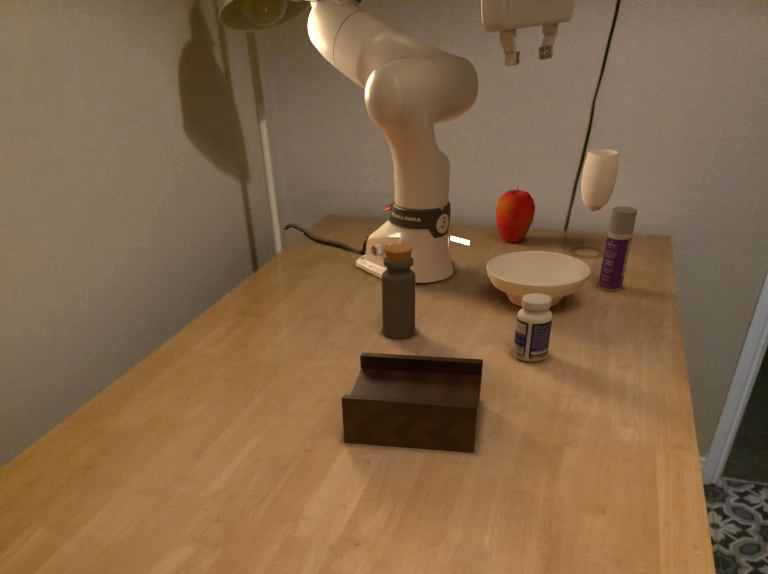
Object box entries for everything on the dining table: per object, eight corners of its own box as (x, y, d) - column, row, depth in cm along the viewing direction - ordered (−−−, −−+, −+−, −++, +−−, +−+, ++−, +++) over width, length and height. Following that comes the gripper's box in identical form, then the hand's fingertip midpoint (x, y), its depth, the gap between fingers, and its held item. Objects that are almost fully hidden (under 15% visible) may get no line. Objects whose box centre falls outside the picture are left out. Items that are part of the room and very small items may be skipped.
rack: (344, 442, 93) (341, 398, 88) (363, 393, 104) (361, 352, 99) (473, 452, 90) (477, 407, 86) (479, 401, 101) (483, 359, 97)
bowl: (522, 277, 142) (526, 244, 137) (603, 301, 131) (610, 266, 126) (463, 303, 131) (465, 268, 127) (546, 331, 120) (551, 294, 116)
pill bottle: (549, 350, 114) (557, 293, 108) (544, 365, 110) (552, 306, 104) (516, 346, 116) (522, 289, 109) (509, 360, 111) (516, 302, 105)
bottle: (411, 340, 118) (412, 254, 109) (379, 338, 119) (377, 252, 110) (417, 326, 123) (418, 243, 113) (386, 324, 124) (384, 241, 114)
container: (596, 289, 135) (610, 211, 126) (599, 282, 139) (613, 205, 129) (620, 292, 134) (636, 213, 125) (622, 284, 137) (639, 207, 128)
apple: (489, 236, 165) (493, 183, 157) (525, 234, 165) (530, 181, 158) (498, 247, 157) (503, 193, 150) (535, 245, 158) (542, 191, 150)
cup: (577, 245, 157) (593, 147, 144) (607, 251, 154) (626, 150, 141) (565, 254, 153) (580, 153, 140) (595, 259, 150) (613, 157, 137)
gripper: (550, -46, 107) (548, 57, 115) (472, -44, 96) (475, 70, 104) (586, -53, 104) (580, 54, 111) (508, -52, 92) (508, 67, 100)
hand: (529, 62), depth 108 cm, fingers open, 8 cm apart
